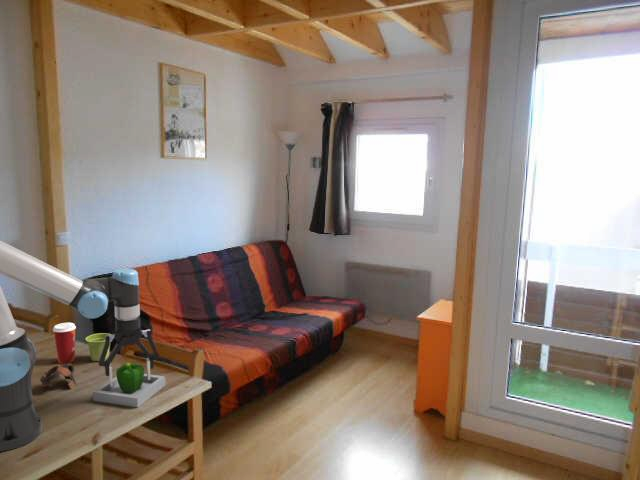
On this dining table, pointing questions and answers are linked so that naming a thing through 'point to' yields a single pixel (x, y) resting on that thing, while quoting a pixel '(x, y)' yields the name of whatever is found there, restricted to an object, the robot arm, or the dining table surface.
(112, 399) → the gray square tray
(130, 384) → the bell pepper
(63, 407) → the dining table surface
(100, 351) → the plant pot
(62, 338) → the paper cup
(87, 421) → the dining table surface
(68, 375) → the pottery mug
